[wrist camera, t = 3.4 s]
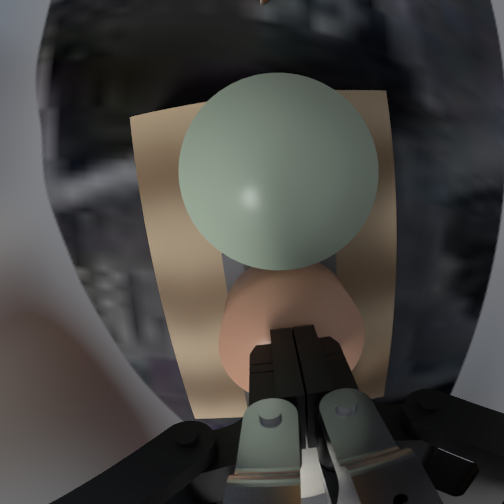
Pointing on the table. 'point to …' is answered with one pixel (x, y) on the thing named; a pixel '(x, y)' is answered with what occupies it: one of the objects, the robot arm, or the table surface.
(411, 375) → the table surface
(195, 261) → the tan slotted panel
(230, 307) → the peach ball
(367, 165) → the pale green ball
